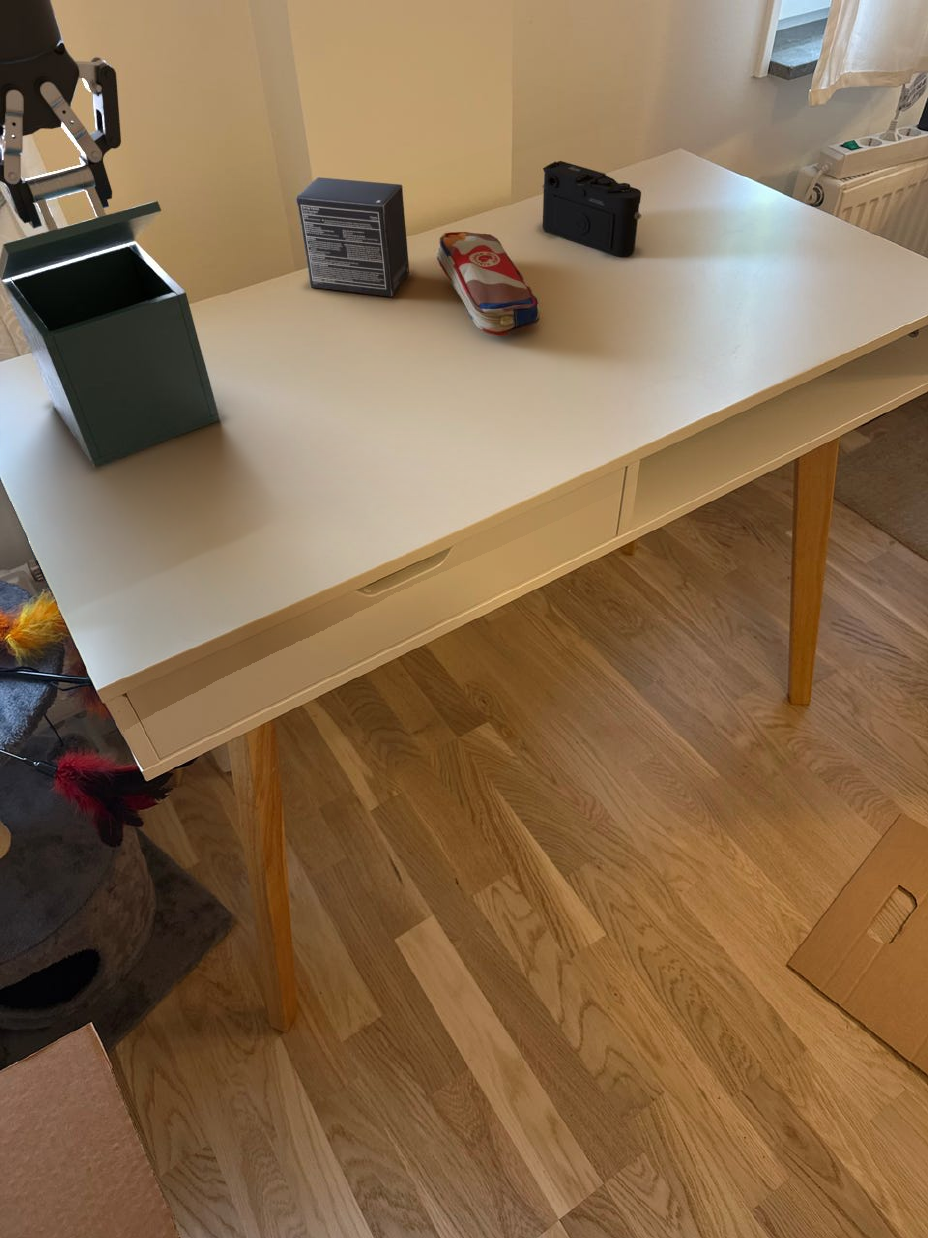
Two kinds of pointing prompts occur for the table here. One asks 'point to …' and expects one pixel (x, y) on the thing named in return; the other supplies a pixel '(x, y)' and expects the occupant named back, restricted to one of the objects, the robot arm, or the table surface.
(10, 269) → the lid
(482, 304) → the pencil case
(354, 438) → the table surface
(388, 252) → the small box
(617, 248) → the camera
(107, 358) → the bread bin
